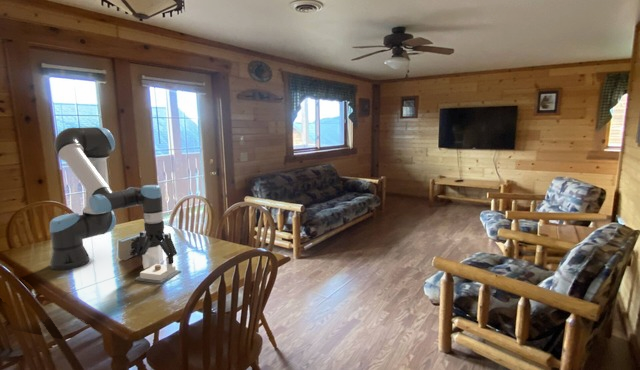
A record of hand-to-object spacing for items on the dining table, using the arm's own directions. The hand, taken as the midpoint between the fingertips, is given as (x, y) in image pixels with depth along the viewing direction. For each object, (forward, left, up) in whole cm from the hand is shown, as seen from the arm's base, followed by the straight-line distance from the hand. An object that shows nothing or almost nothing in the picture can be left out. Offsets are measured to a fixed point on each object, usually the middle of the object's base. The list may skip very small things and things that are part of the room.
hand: (158, 269), depth 152 cm
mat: (0, 0, -3) cm, 3 cm away
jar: (-12, +11, -3) cm, 17 cm away
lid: (0, 0, -3) cm, 3 cm away
